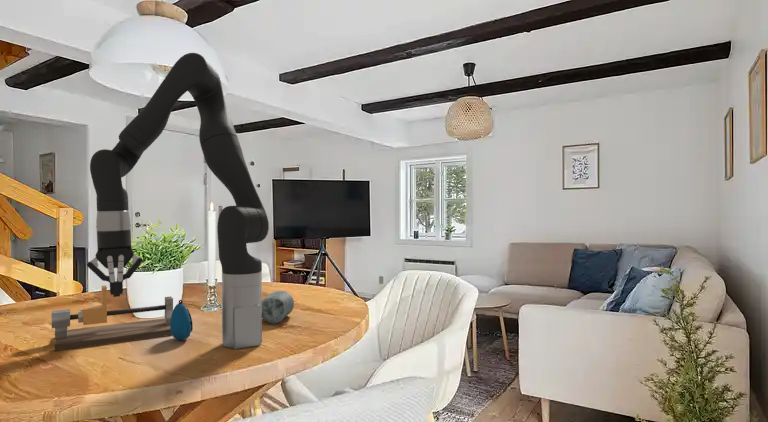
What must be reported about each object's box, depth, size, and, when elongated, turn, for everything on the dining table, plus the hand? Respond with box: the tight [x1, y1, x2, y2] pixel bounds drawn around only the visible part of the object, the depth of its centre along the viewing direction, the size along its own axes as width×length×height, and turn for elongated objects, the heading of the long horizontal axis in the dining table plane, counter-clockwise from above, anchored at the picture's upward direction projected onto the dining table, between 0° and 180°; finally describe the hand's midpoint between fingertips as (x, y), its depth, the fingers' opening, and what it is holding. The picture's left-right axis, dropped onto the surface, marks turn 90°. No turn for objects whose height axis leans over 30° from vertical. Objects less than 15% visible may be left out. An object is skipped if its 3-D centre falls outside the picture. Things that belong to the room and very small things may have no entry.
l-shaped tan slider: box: [82, 284, 108, 326], centre depth 117 cm, size 4×5×9 cm
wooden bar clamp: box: [51, 295, 174, 352], centre depth 120 cm, size 14×27×8 cm, turn 123°
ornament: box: [170, 299, 194, 342], centre depth 116 cm, size 8×5×10 cm, turn 41°
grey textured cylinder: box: [262, 290, 295, 325], centre depth 136 cm, size 14×10×10 cm
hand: (116, 296), depth 120 cm, fingers closed
